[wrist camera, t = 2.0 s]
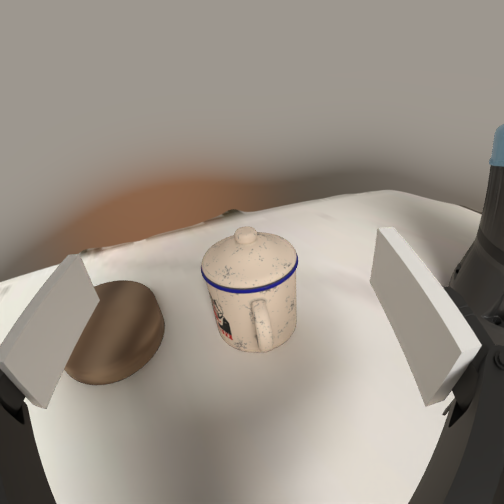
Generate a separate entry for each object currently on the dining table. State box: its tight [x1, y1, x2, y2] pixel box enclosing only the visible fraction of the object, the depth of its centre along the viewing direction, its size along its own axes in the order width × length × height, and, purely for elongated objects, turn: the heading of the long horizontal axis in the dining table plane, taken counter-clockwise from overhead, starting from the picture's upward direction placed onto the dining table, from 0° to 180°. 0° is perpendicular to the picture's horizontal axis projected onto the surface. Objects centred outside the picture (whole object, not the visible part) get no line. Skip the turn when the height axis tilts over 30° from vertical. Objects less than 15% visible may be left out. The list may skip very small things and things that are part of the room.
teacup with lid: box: [201, 227, 298, 352], centre depth 27 cm, size 12×9×12 cm
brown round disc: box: [64, 281, 165, 385], centre depth 30 cm, size 15×15×3 cm
